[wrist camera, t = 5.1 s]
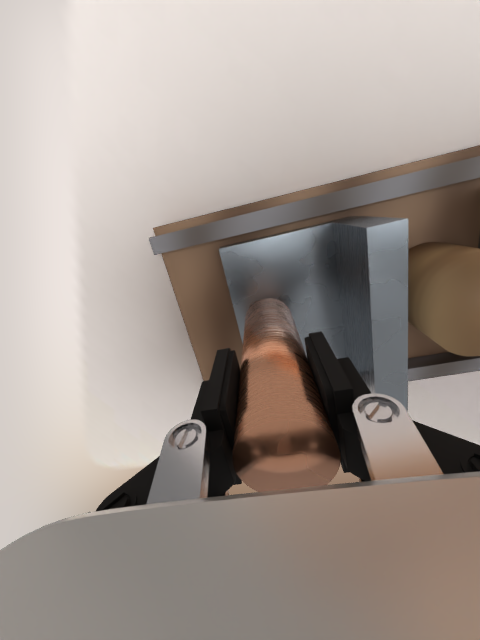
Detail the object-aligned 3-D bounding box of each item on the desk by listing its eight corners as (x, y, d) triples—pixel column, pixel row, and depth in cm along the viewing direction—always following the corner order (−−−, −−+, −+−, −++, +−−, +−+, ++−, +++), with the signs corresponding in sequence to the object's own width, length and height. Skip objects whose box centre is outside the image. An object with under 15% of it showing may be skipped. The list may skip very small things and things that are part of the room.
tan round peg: (470, 233, 16) (560, 242, 11) (463, 310, 17) (538, 346, 13) (381, 251, 16) (432, 268, 12) (384, 324, 18) (428, 363, 14)
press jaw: (353, 215, 15) (570, 226, 5) (363, 361, 19) (499, 551, 8) (221, 246, 16) (159, 311, 6) (254, 379, 20) (252, 567, 10)
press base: (525, 134, 15) (759, 68, 8) (494, 349, 20) (621, 423, 13) (160, 226, 18) (101, 236, 11) (214, 393, 23) (197, 473, 16)
